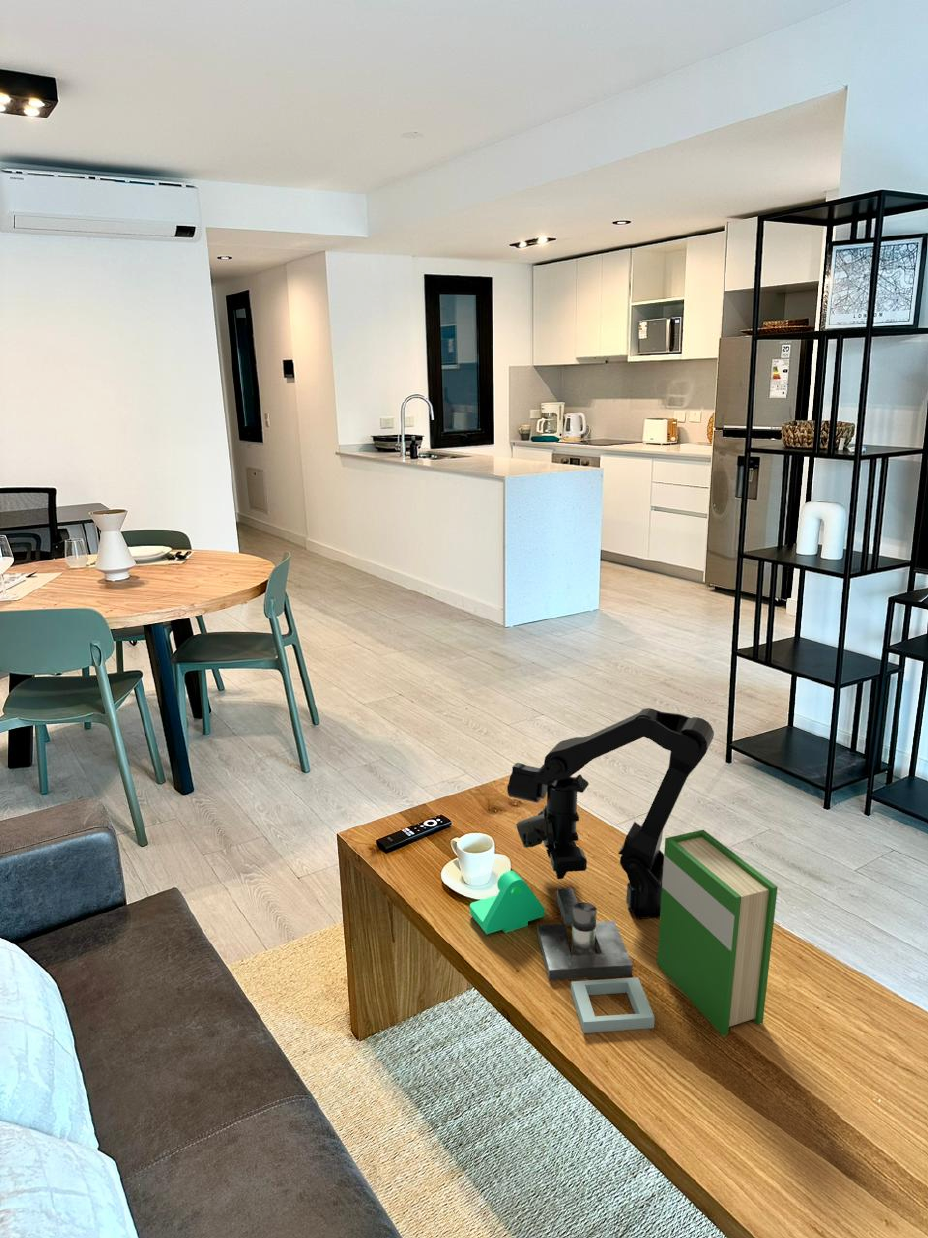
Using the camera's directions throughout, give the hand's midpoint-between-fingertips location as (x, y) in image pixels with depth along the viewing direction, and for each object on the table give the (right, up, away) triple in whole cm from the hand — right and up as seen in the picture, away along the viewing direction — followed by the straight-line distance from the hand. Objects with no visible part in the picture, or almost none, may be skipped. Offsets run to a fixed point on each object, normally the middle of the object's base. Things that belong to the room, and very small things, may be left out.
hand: (559, 878), depth 165 cm
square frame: (+4, -11, -33) cm, 35 cm away
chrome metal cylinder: (+2, -7, -20) cm, 21 cm away
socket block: (+2, -7, -20) cm, 21 cm away
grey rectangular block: (+1, -4, -8) cm, 9 cm away
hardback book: (+21, -10, -29) cm, 37 cm away
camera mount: (-11, -5, -9) cm, 15 cm away
